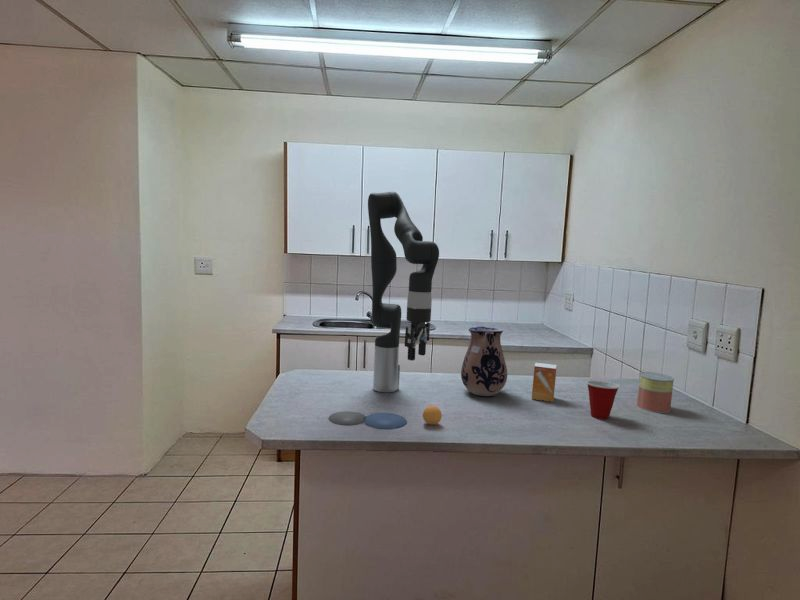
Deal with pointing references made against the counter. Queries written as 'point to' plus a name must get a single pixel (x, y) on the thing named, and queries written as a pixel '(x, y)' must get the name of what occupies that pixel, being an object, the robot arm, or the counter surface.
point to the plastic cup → (601, 398)
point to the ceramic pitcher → (484, 362)
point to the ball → (432, 415)
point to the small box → (544, 382)
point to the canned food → (655, 392)
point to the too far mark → (347, 418)
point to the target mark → (385, 420)
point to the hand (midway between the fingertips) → (416, 357)
